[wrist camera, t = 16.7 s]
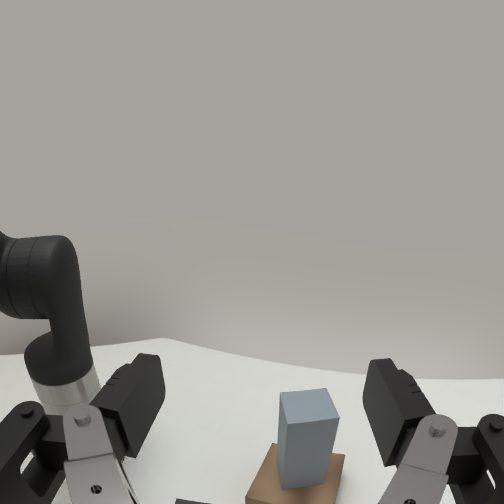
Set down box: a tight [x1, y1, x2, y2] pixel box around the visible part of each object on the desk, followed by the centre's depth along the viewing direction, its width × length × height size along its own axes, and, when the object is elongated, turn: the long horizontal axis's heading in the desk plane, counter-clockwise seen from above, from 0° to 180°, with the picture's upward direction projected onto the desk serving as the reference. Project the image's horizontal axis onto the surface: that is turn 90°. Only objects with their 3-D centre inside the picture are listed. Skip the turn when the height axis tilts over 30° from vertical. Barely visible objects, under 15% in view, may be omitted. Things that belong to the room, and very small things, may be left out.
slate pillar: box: [276, 388, 340, 490], centre depth 28 cm, size 5×5×12 cm
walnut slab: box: [245, 443, 345, 504], centre depth 29 cm, size 10×10×5 cm
